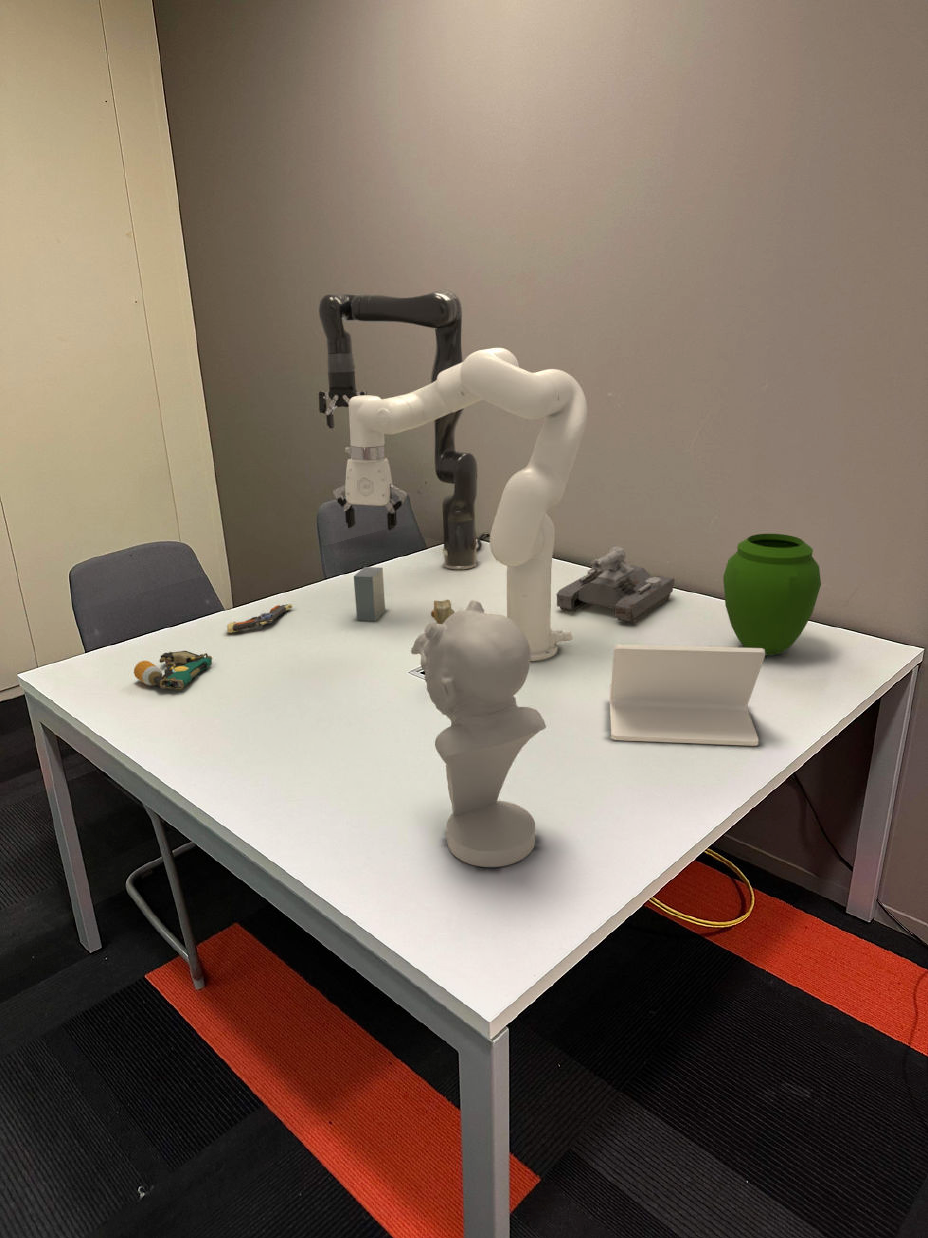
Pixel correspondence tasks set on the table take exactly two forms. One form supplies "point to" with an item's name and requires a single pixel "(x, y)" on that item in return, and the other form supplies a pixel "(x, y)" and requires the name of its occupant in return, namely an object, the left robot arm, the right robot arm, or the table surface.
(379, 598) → the brick
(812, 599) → the vase
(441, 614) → the sculpture
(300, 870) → the table surface
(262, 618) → the toy gun
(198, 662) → the green toy blaster
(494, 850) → the bust sculpture
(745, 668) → the tablet stand
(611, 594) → the toy
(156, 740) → the table surface
